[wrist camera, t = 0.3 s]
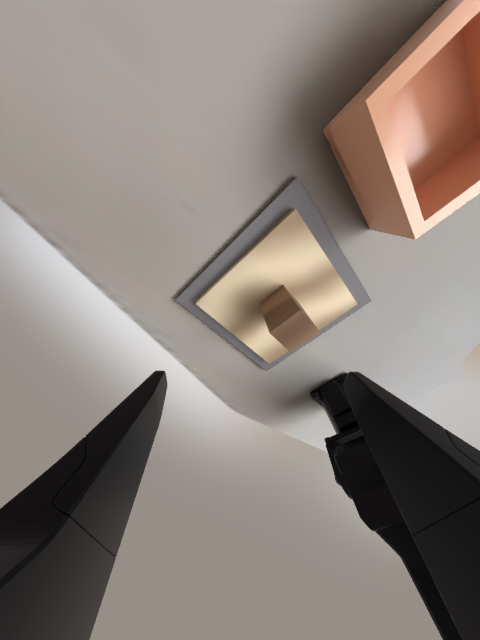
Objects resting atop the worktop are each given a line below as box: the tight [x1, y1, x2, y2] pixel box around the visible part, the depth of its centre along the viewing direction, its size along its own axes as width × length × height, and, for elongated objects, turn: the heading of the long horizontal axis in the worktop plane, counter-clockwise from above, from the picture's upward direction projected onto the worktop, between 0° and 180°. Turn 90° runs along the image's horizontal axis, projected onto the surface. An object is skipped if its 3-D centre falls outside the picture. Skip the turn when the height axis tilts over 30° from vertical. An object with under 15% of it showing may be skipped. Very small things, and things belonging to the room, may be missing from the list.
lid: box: [196, 209, 357, 364], centre depth 18 cm, size 12×12×6 cm
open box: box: [323, 0, 480, 239], centre depth 12 cm, size 9×9×5 cm
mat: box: [176, 177, 371, 371], centre depth 21 cm, size 15×15×1 cm
